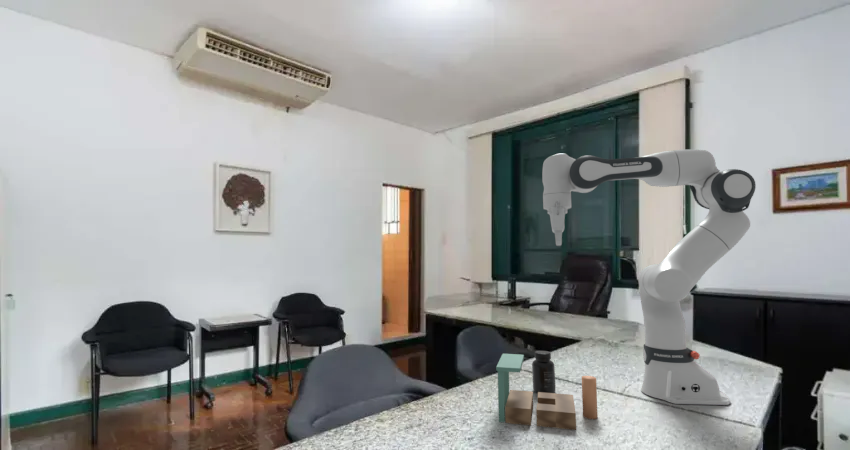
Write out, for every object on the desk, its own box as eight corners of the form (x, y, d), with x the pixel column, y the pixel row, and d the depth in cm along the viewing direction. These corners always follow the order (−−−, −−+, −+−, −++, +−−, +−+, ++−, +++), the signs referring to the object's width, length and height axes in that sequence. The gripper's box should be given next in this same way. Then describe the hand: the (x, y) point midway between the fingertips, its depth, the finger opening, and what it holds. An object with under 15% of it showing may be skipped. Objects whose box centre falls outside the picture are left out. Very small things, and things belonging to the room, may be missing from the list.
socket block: (573, 409, 117) (572, 394, 117) (576, 430, 104) (575, 413, 104) (510, 404, 122) (510, 389, 122) (505, 422, 108) (505, 406, 109)
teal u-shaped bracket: (525, 404, 121) (523, 354, 122) (521, 425, 107) (520, 368, 108) (503, 402, 123) (502, 353, 124) (497, 422, 108) (496, 366, 109)
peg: (596, 414, 113) (595, 376, 114) (598, 419, 110) (596, 380, 110) (582, 413, 114) (581, 375, 115) (583, 418, 111) (582, 379, 111)
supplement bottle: (556, 389, 135) (554, 350, 135) (555, 395, 128) (553, 355, 129) (533, 387, 137) (532, 349, 138) (531, 393, 131) (530, 353, 131)
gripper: (568, 199, 129) (570, 244, 128) (566, 206, 148) (567, 245, 148) (546, 200, 131) (548, 245, 130) (547, 207, 150) (548, 246, 149)
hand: (558, 245), depth 139 cm, fingers open, 8 cm apart
